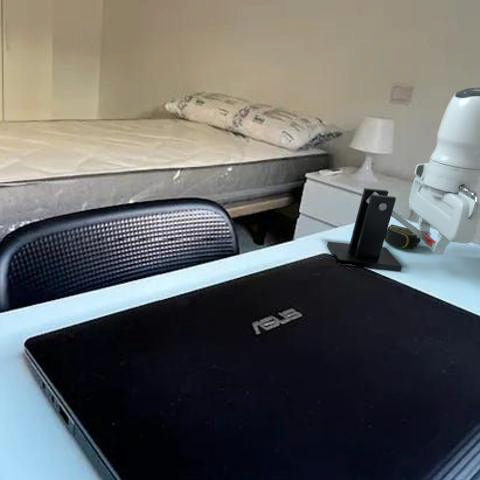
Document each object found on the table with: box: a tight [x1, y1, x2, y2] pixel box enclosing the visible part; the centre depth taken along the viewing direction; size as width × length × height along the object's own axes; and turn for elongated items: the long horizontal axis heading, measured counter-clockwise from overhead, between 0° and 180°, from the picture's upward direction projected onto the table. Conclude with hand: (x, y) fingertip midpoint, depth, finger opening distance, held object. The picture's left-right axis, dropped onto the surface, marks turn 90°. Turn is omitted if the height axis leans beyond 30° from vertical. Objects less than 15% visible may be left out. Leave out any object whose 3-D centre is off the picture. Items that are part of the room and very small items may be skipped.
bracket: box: [326, 187, 403, 273], centre depth 97 cm, size 12×9×14 cm
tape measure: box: [384, 224, 422, 250], centre depth 107 cm, size 7×7×4 cm
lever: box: [366, 192, 437, 249], centre depth 96 cm, size 16×5×2 cm, turn 88°
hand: (429, 246), depth 98 cm, fingers closed on lever, 5 cm apart
